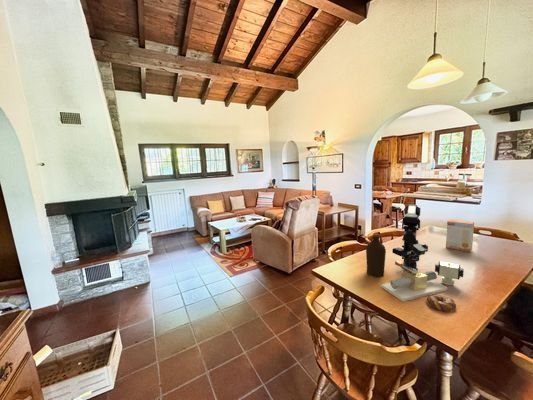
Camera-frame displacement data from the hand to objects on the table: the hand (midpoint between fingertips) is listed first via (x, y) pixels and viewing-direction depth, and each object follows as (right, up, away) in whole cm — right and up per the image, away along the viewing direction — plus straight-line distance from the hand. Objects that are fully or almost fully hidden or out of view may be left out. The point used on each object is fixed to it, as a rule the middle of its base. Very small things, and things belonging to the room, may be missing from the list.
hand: (408, 263), depth 128 cm
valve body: (-3, -9, -9) cm, 13 cm away
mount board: (-3, -11, -9) cm, 14 cm away
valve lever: (-5, -1, -6) cm, 8 cm away
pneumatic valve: (+17, -9, -7) cm, 20 cm away
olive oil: (-15, -9, +9) cm, 19 cm away
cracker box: (+59, 0, +37) cm, 70 cm away
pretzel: (0, -13, -23) cm, 26 cm away
